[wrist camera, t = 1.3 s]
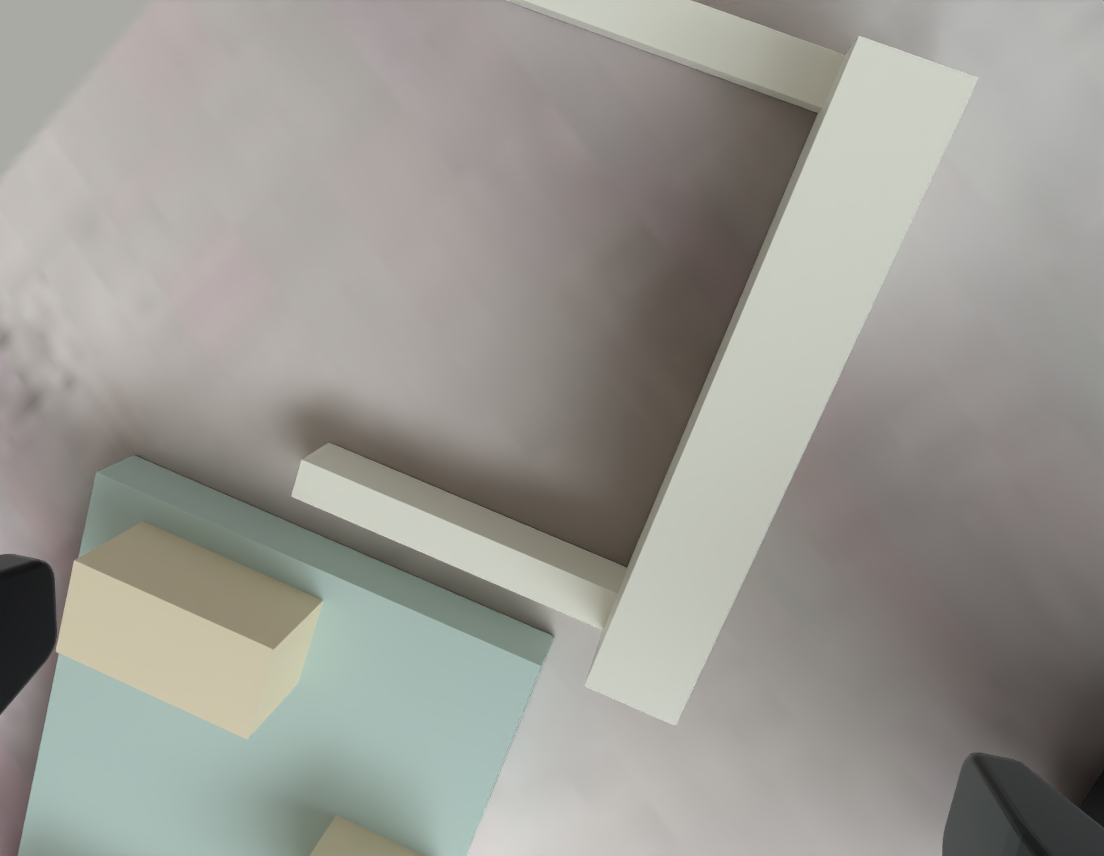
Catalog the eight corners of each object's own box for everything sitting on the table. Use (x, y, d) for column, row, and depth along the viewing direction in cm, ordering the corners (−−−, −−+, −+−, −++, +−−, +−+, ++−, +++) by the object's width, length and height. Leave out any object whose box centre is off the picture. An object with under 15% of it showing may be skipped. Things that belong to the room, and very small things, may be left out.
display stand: (554, 636, 24) (515, 725, 20) (379, 1070, 28) (322, 1207, 25) (133, 455, 25) (21, 505, 21) (36, 901, 30) (-68, 1007, 26)
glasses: (934, 96, 19) (979, 77, 15) (689, 634, 23) (675, 726, 19) (475, -66, 20) (408, -123, 16) (318, 477, 24) (236, 534, 20)
